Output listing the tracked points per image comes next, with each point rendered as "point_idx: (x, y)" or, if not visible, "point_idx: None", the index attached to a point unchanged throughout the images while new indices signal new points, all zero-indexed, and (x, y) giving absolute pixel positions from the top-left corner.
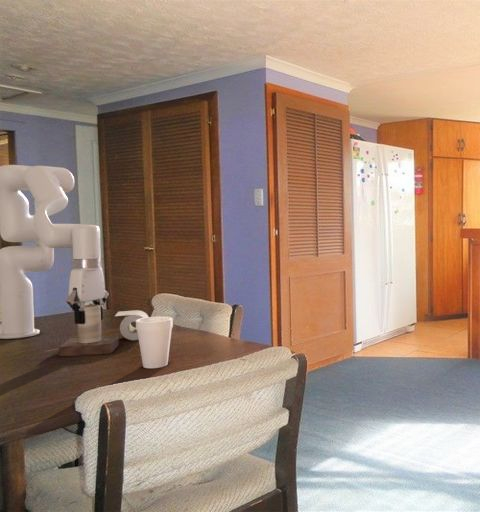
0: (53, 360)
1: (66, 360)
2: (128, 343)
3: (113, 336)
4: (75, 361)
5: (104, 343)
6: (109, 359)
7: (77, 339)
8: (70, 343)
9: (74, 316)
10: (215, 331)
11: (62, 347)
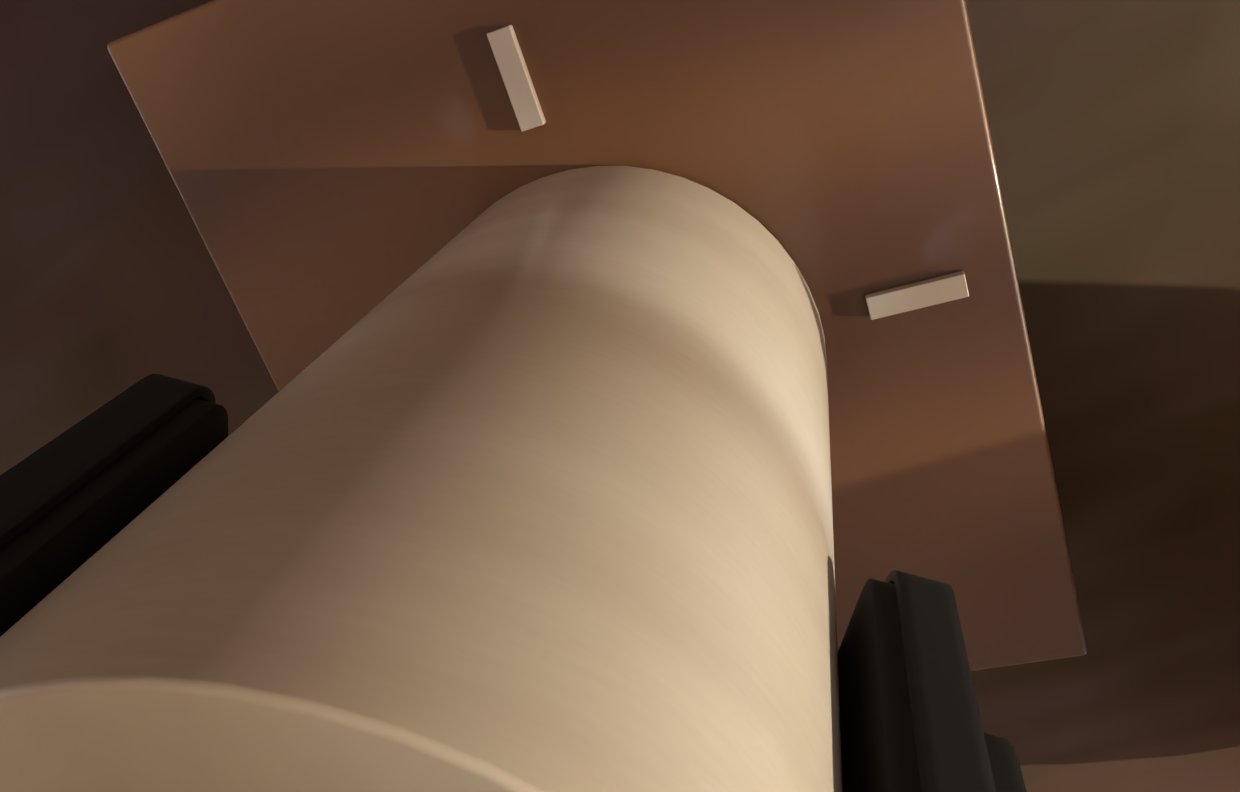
0: (17, 92)
1: (74, 281)
2: (1151, 649)
3: (1026, 600)
4: (72, 420)
5: None
6: None
7: (756, 17)
8: (373, 112)
9: (8, 470)
10: None
11: (145, 108)
